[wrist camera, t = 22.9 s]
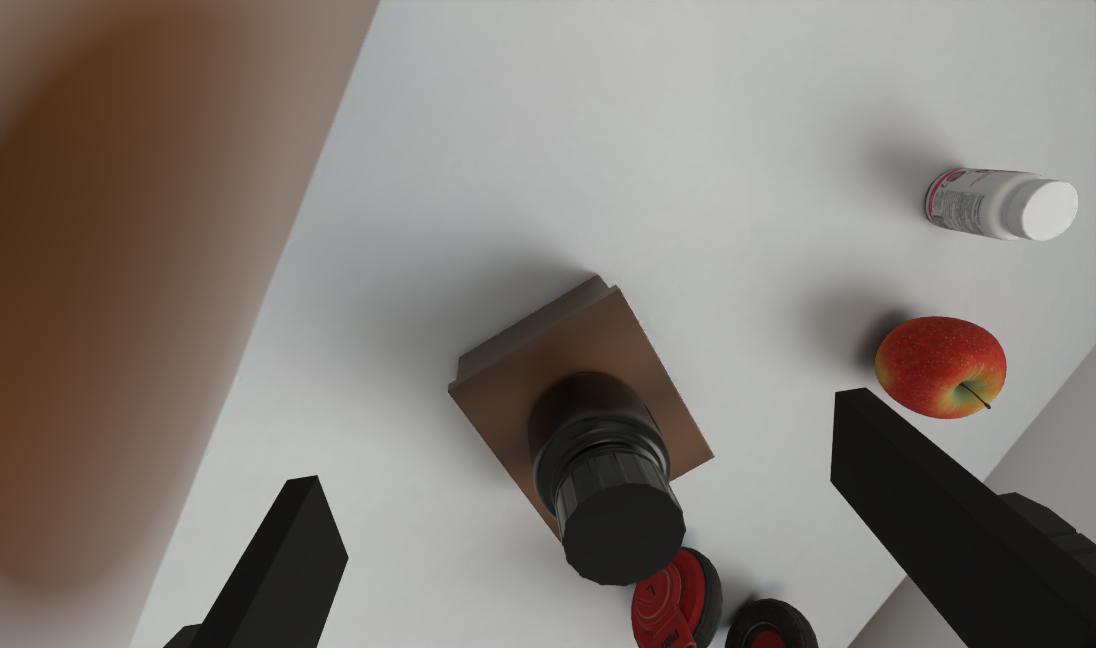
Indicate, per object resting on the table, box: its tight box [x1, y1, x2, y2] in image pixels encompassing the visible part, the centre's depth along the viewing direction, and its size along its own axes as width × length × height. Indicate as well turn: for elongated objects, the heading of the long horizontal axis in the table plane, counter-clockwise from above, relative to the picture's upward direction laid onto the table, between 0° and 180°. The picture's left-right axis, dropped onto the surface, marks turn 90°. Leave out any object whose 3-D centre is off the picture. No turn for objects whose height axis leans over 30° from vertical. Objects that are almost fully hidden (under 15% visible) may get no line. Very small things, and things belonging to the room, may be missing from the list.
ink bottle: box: [528, 374, 686, 586], centre depth 35 cm, size 10×9×12 cm
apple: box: [875, 316, 1007, 419], centre depth 44 cm, size 8×8×10 cm
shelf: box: [448, 275, 714, 542], centre depth 44 cm, size 16×14×6 cm
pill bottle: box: [926, 168, 1078, 241], centre depth 41 cm, size 5×5×8 cm
